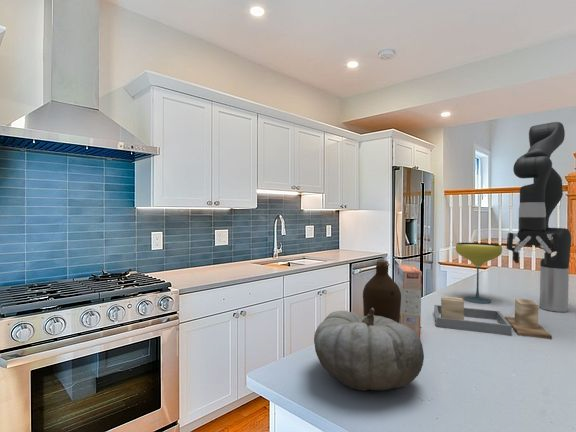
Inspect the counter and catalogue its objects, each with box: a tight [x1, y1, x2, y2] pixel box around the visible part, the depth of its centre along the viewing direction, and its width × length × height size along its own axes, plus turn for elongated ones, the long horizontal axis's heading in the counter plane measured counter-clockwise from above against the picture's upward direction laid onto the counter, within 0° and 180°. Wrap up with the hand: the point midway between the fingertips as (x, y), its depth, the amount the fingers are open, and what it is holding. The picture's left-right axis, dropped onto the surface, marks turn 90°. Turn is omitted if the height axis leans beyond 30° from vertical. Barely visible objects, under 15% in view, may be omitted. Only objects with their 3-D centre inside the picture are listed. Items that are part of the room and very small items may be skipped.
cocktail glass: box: [455, 242, 503, 304], centre depth 154 cm, size 18×18×25 cm
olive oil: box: [362, 259, 401, 323], centre depth 99 cm, size 11×11×25 cm
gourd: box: [313, 308, 425, 392], centre depth 81 cm, size 25×25×17 cm
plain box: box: [440, 296, 465, 320], centre depth 124 cm, size 5×7×8 cm
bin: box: [433, 304, 513, 336], centre depth 123 cm, size 18×22×3 cm
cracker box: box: [397, 264, 423, 339], centre depth 114 cm, size 14×6×21 cm, turn 168°
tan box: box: [514, 298, 539, 329], centre depth 117 cm, size 5×7×8 cm
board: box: [504, 315, 553, 340], centre depth 117 cm, size 18×9×1 cm, turn 159°
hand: (531, 263), depth 118 cm, fingers open, 8 cm apart
